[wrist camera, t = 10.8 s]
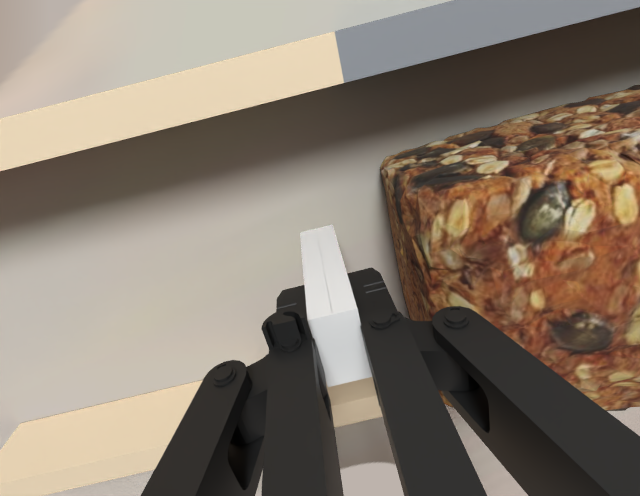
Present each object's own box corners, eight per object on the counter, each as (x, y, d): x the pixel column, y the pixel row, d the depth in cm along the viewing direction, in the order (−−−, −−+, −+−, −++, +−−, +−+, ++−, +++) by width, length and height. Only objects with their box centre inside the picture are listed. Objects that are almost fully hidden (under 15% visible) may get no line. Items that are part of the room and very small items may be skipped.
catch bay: (-189, 172, 16) (-326, 203, 12) (914, -115, 15) (1116, -173, 11) (34, 440, 23) (-12, 508, 20) (784, 262, 22) (880, 300, 19)
